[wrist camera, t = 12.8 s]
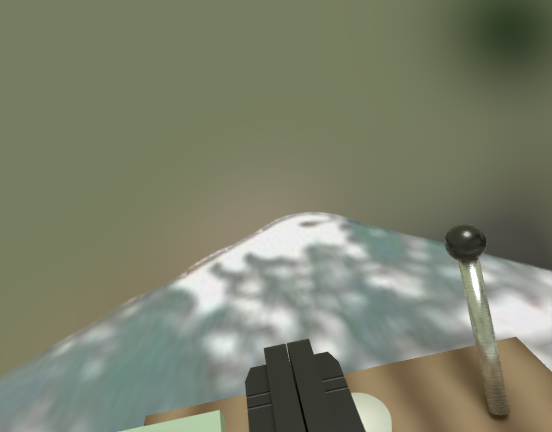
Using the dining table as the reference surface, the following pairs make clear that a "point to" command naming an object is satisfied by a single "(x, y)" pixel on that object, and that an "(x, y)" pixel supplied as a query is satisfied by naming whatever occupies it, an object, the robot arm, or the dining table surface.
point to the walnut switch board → (432, 394)
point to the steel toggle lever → (479, 311)
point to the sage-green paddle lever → (188, 424)
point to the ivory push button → (372, 413)
